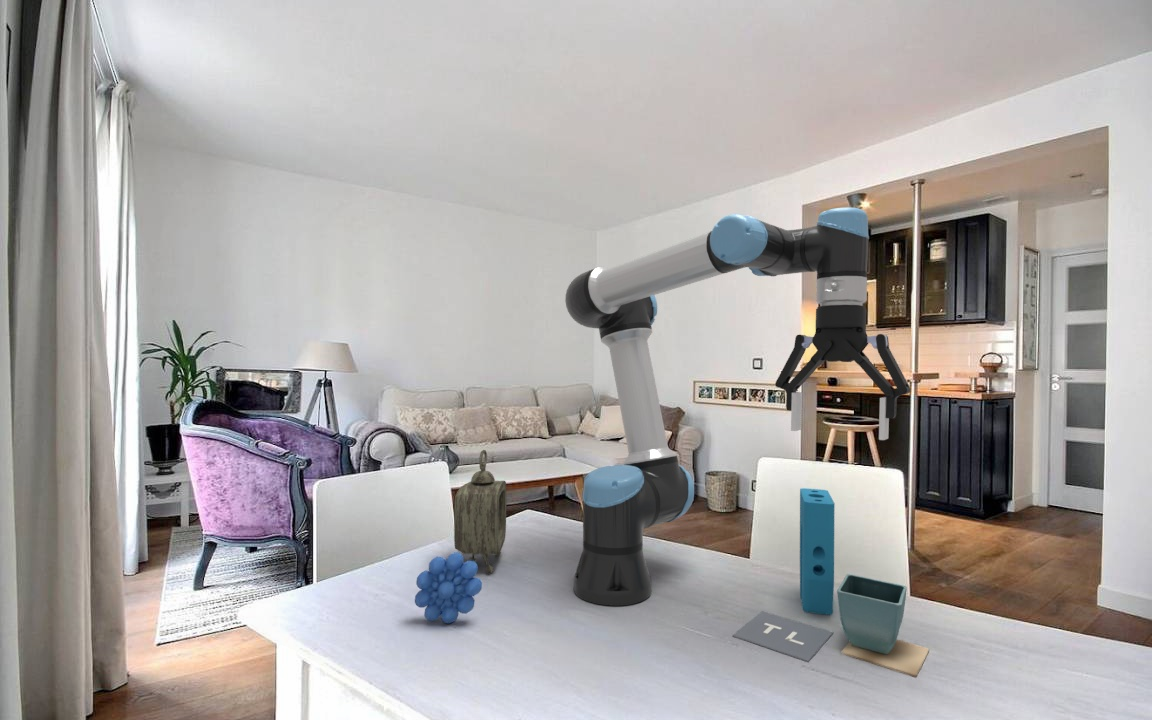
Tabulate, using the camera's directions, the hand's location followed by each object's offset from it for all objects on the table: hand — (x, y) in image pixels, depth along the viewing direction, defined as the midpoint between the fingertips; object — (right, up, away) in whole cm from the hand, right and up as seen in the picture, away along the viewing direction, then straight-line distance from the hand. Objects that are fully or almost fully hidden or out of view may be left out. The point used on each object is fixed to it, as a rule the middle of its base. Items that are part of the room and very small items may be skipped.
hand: (837, 434), depth 94 cm
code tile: (-9, -33, 0) cm, 34 cm away
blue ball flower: (-65, -33, +4) cm, 73 cm away
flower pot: (+3, -33, -4) cm, 33 cm away
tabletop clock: (-64, -33, +31) cm, 78 cm away
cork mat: (+5, -33, -6) cm, 34 cm away
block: (+1, -33, +12) cm, 35 cm away
